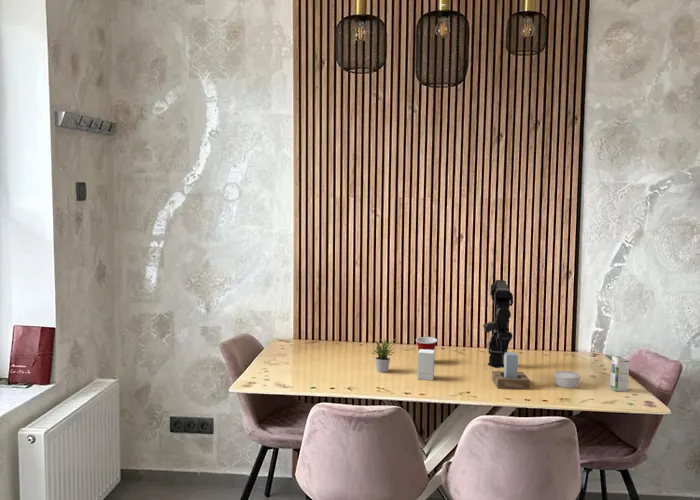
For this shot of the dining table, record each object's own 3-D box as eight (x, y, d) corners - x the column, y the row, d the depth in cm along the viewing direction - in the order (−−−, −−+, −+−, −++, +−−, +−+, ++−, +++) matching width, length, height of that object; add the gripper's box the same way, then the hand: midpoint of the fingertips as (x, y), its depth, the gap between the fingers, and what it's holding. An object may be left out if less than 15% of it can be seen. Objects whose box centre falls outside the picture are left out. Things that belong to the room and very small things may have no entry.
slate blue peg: (503, 380, 305) (504, 352, 304) (514, 380, 305) (515, 352, 304) (505, 383, 300) (506, 354, 299) (517, 384, 300) (518, 355, 299)
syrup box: (609, 387, 300) (610, 355, 299) (621, 387, 301) (623, 355, 300) (615, 391, 295) (617, 359, 293) (628, 391, 295) (630, 359, 294)
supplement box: (433, 380, 306) (433, 353, 305) (416, 379, 308) (417, 352, 307) (434, 376, 314) (435, 349, 313) (418, 375, 315) (419, 348, 314)
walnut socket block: (491, 379, 310) (492, 371, 310) (522, 380, 310) (522, 371, 309) (497, 388, 296) (498, 379, 296) (529, 389, 296) (530, 380, 295)
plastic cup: (412, 363, 336) (413, 340, 335) (418, 358, 346) (419, 335, 345) (433, 366, 332) (434, 342, 331) (439, 361, 342) (439, 338, 341)
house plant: (404, 369, 324) (405, 336, 323) (393, 376, 312) (394, 341, 310) (377, 366, 330) (377, 333, 329) (365, 372, 318) (366, 338, 316)
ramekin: (566, 390, 296) (567, 378, 295) (548, 383, 305) (548, 372, 305) (585, 387, 301) (585, 375, 300) (566, 381, 311) (566, 369, 310)
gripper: (481, 312, 321) (480, 344, 323) (488, 320, 303) (487, 354, 304) (504, 313, 321) (503, 345, 322) (513, 320, 302) (511, 354, 304)
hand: (500, 349), depth 313 cm, fingers open, 9 cm apart
